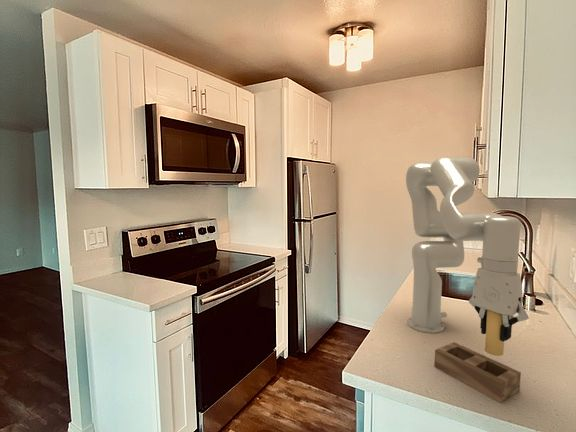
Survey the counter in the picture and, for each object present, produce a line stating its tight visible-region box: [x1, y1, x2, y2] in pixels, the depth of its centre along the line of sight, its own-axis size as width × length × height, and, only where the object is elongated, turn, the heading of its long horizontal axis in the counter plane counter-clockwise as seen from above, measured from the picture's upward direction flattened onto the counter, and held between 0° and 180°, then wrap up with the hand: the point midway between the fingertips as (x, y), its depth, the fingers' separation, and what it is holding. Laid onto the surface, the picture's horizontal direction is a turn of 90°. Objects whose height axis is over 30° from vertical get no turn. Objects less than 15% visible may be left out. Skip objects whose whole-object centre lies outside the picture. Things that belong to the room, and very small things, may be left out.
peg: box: [484, 310, 505, 357], centre depth 84 cm, size 4×4×12 cm
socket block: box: [433, 341, 522, 403], centre depth 89 cm, size 9×18×5 cm, turn 30°
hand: (495, 335), depth 84 cm, fingers closed on peg, 4 cm apart
